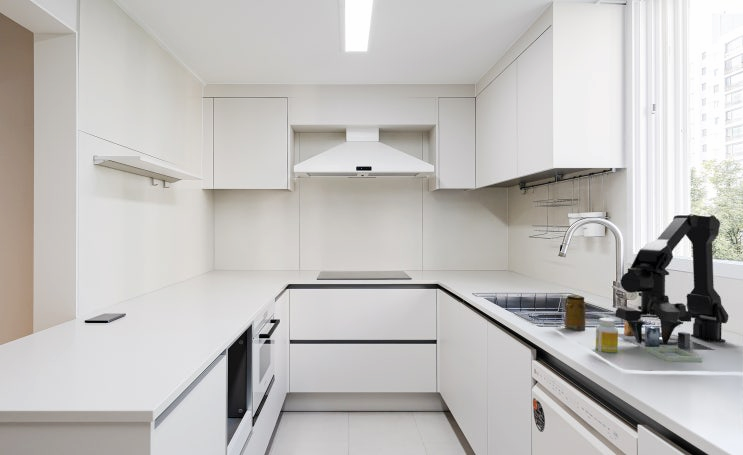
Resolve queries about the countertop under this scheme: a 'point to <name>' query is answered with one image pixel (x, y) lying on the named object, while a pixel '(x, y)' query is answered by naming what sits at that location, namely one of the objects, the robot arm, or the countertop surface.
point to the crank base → (682, 343)
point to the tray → (686, 357)
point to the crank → (629, 333)
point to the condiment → (575, 313)
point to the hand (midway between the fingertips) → (652, 343)
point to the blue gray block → (652, 336)
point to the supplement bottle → (606, 336)
